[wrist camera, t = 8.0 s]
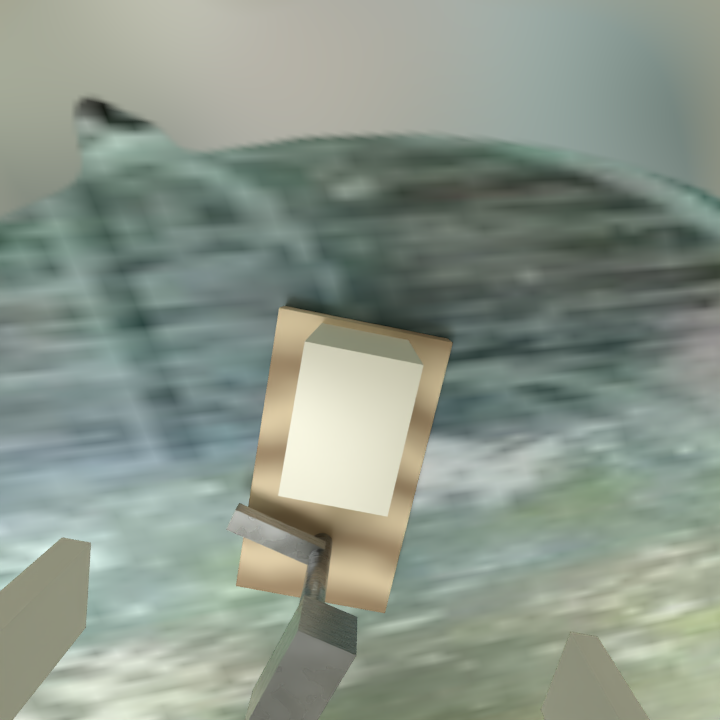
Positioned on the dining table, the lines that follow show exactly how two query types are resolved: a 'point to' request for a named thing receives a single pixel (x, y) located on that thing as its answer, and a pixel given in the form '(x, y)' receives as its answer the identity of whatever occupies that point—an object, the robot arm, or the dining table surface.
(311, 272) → the dining table surface
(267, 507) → the base plate
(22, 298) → the dining table surface
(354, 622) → the t key
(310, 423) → the cream rectangular block
